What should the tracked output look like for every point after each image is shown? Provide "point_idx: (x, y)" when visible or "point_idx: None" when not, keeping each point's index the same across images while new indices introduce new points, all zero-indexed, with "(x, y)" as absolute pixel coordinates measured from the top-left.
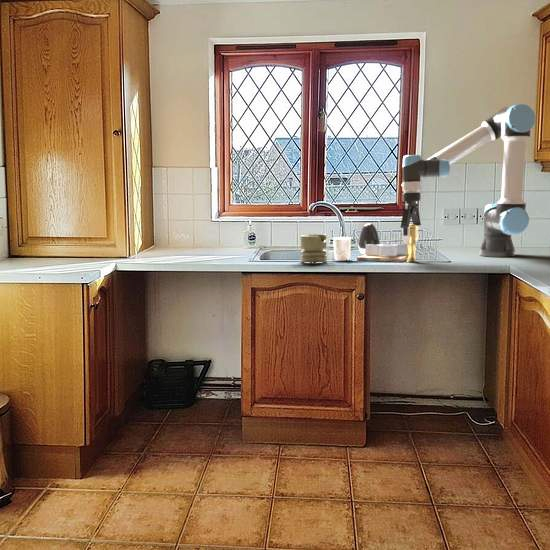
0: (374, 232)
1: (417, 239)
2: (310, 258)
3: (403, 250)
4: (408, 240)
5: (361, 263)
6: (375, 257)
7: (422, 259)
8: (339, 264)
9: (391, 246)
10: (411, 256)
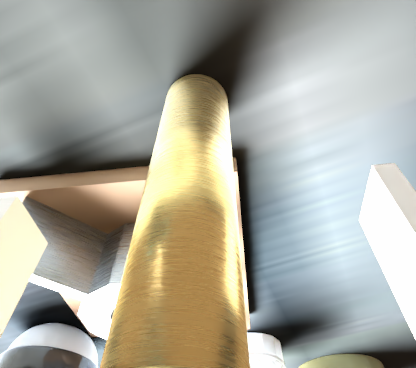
0: None
1: (13, 211)
2: None
3: (56, 238)
4: (411, 192)
5: (345, 277)
6: None
7: (25, 84)
8: (391, 317)
9: None
10: (225, 111)
